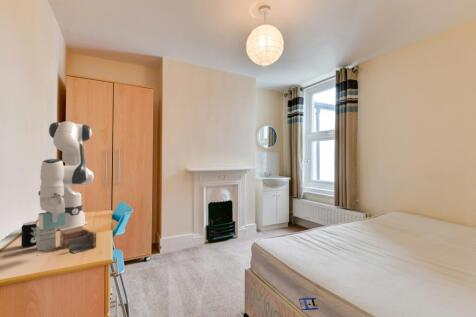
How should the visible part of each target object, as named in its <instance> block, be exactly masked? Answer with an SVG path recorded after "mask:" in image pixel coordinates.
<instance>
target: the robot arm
mask: <svg viewBox="0 0 476 317" xmlns="http://www.w3.org/2000/svg"><path fill="white" fill-rule="evenodd" d="M48 134H49V136H50V138H53V142H52V143H53V146H54V147H55V148H56V149H57V150H59V151H60V152H62V154H61V156H62V157H61V158H62V159H58V158H48V159H45V160H43V161H42V163H41V167H40V181H41V182H40V186H39V187H40V190H39V191H38V196H39V205H40V209H41V210H42V211H43V212H49V213H52V219H51V220H52V222H53V223H54V222H57V218H58V214H63V213H64V211H65V225H63V226H58V227H56V231H60V229H65V228H70V227H75V226H79V225H80V226H82V227H83V226H85V225H86V224H88V221H86V216H85V211H83V204H82V202H83V201H82V194H81V192H80V191H78V190H74V189H72V187H73V186H74V187H75V186H84V185H89V184H92V183H93V181H94V179H95V174H94V172H93V171H92V170H90V169H89V168H88V167H87V164H86V163H87V162H86V156H85V149H84V146H83V144H84V143H85V142H87V141H89V140H90V139H91V137H92V135H93V131H92V128H91V126H89V125H87V124H81V123H75V122H72V121H69V120H68V121H62V122H60V121H59V122H52V123H50V125H49V127H48ZM64 163H65V164H66V165H64Z"/></svg>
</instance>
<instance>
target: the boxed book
mask: <svg viewBox="0 0 476 317" xmlns="http://www.w3.org/2000/svg"><path fill="white" fill-rule="evenodd" d="M37 219H38V221H37V223H38V228H39V229H41V230H43V229H48V228H53V227H58V226H63V225H65V211H64V213H63V214H58V218H57V222H54V223H53V222H52V220H51V219H52V213H49V212H46V211H44V212H40V213H39V212H38V217H37Z"/></svg>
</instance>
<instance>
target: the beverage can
mask: <svg viewBox="0 0 476 317" xmlns="http://www.w3.org/2000/svg"><path fill="white" fill-rule="evenodd" d="M37 223H38V221H29V222H24V223H22V226H21V239H20V240H21V245H20V246H21V247H22V248H24V249H26V248H31V247H36V224H37Z"/></svg>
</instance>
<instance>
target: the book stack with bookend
mask: <svg viewBox="0 0 476 317" xmlns="http://www.w3.org/2000/svg"><path fill="white" fill-rule="evenodd" d="M59 235H60V236H59V247H60V248H61V249H62V248H63V249H65V250H66V249H68V252H69V253H72V254H78V253H81V252H84V251H87V250H91V249H95V248H96V249H97V232H95V231H92V230H89V229H87V228H85V227H83V226H80V225H79V226H75V227H70V228H65V229H60V230H59Z"/></svg>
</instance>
